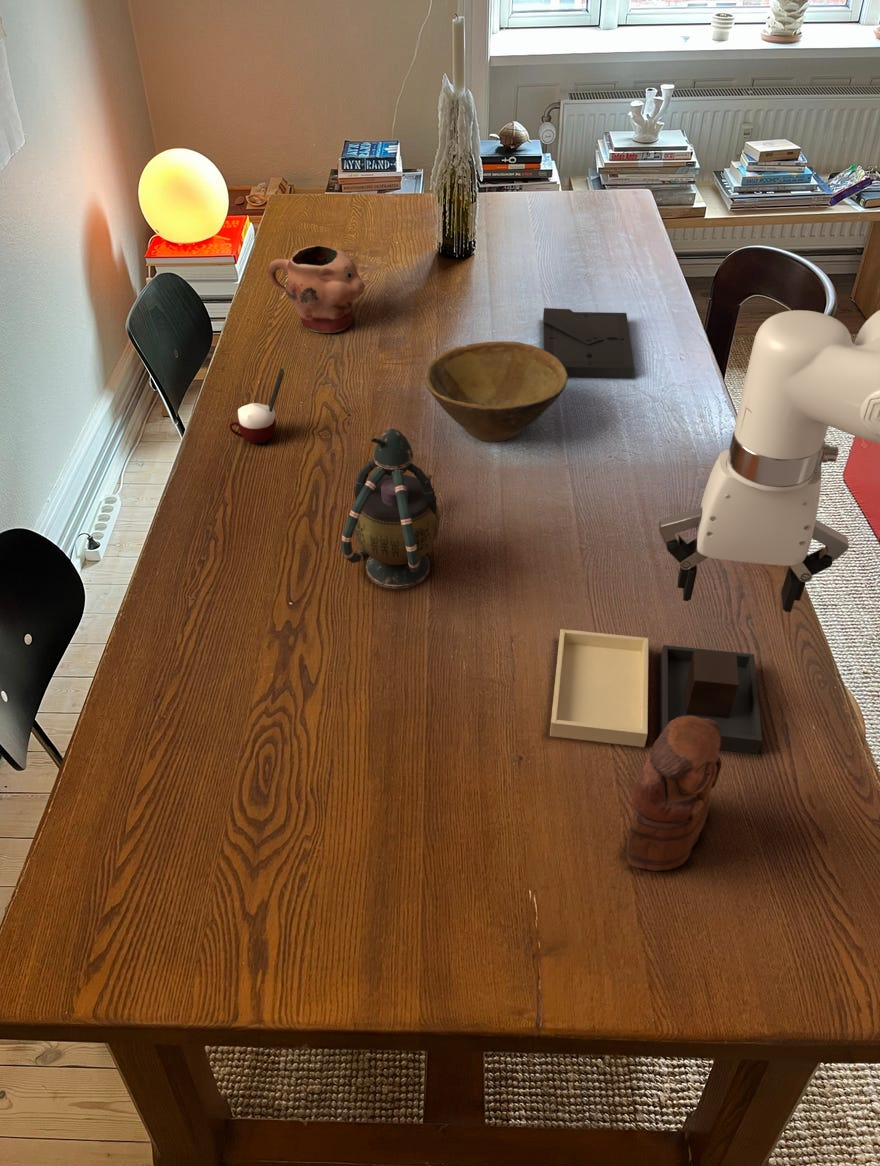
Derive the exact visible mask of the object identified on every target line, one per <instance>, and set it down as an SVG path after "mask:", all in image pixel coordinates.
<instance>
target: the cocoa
mask: <svg viewBox="0 0 880 1166" xmlns="http://www.w3.org/2000/svg"><path fill="white" fill-rule="evenodd" d="M284 370H285V369H283V368H280V370H279V372H278V375H277V379H276V381H275V386H274V388H273V391H272V395H271V398H270V401H269V404H268V405H267V404H263V403H260V402H251V403H249V404H246V405H243V406H241V407H239V408H238V409H237V417H238V418H237V421H231V422H230V423H229V430H230V431H231V432H232V433H233V434H234V435H236V436H238V437H240V438H244V440H245V441H247V442H248V443H251V444H254V445H261V444H265V443H267V442H268V441H270V440H271V439H272V438H273V437H274V435H275V432H276V426H277V425H276V424H277V421H276V420H277V419H276V415H277V413H276V410H275V409H274V407H275V404H276V400H277V397H278V394H279V391H280V387H281V384H282V382H283V378H284V376H285V371H284ZM233 426H237V427H238V429H239V432H238V431H236V430H235V429H233Z"/></svg>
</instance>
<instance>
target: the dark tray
mask: <svg viewBox="0 0 880 1166" xmlns="http://www.w3.org/2000/svg"><path fill="white" fill-rule="evenodd" d="M694 651H704V652H713V653H723V654H733V655H736V656H737V669H738V682H739V686H738V689H737V692H736V696H735V699H734V702H733V706H732V709H731V712H730V715H729V718H719V717H710V716H701V715H692V714H686V688H685V684H686V680H687V676H688V672H689V668H690V664H691V660H692V656H693V652H694ZM755 658H756V657H755V654H754V653H744V652H735V651H726V650H725V651H724V650H715V649H706V648H697V647H696V648H695V647H687V646H679V645H678V646H676V645H668V644H662V648H661V652H660V657H659V721H660V722H659V729H660V730H659V735H660V734H661V733H662V731H663V730H664V728H665V727H666V725H667V724H669V722H671V721H672V720H674V719H676V718H677V717H681V716H696V717H699V718H703V719H711V720H714V721H715V722H717V723H719V725H720V727H721V733H722V740H721V748H720V751H729V752H735V753H736V752H737V753H743V754H753V755H758V754H759V752H760V749H761V745H762V743H763V734H762V721H761V711H760V702H759V701H760V699H759V691H758V680H757V670H756V660H755Z"/></svg>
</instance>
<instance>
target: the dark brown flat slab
mask: <svg viewBox="0 0 880 1166" xmlns="http://www.w3.org/2000/svg"><path fill="white" fill-rule="evenodd" d="M542 314H543V316H542V347H543V348H542V349H543V350H545V351H547V352H549V353H551V354H552V355H554V356H555V357H556V358H558V359H559V360H560V362H561V363H562V364H563V366H564V368H565V369H566V372H567V375H568V378H580V379H581V378H584V379H588V378H589V379H633V378H634V374H635V373H634V372H635V364H634V363H635V362H634V358H633V357H634V356H633V350H632V343H631V335H630V328H629V321H628V315H627V312H598V311H597V312H595V311H591V312H590V311H573V310H571V309H570V308H553V307H543V312H542Z"/></svg>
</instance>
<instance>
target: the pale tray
mask: <svg viewBox="0 0 880 1166" xmlns="http://www.w3.org/2000/svg"><path fill="white" fill-rule="evenodd" d="M558 639H559V640H558V647H557V649H558V650H557V657H556V658H557V659H556V668H555V679H554V687H553V699H552V708H551V719H550V728H549V737H555V738H563V739H572V740H579V741H586V742H587V741H588V742H596V743H606V744H613V745H621V746H630V747H639V748H645V747H646V743H647V740H648V739H647V738H648V735H649V734H648V730H649V729H648V727H649V726H648V725H649V723H648V722H649V721H648V720H649V637H642V636H632V635H622V634H613V633H602V632H594V631H584V630H575V629H574V630H573V629H563V628H560V629H559V638H558Z"/></svg>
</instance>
